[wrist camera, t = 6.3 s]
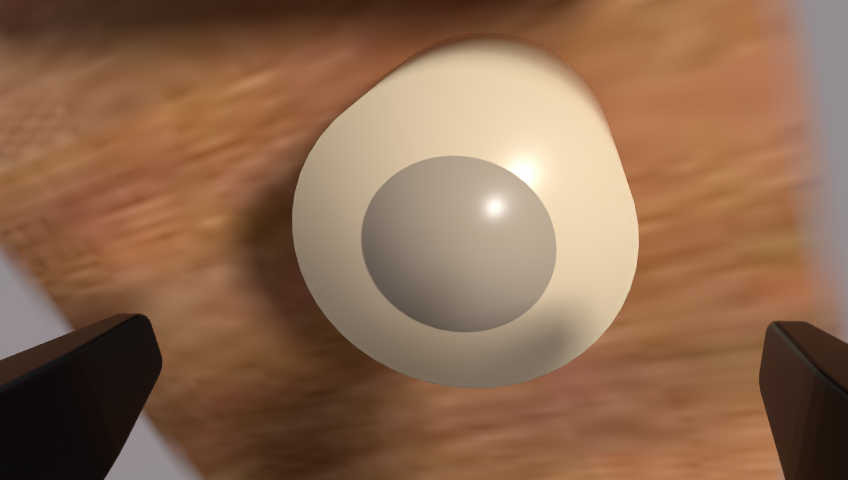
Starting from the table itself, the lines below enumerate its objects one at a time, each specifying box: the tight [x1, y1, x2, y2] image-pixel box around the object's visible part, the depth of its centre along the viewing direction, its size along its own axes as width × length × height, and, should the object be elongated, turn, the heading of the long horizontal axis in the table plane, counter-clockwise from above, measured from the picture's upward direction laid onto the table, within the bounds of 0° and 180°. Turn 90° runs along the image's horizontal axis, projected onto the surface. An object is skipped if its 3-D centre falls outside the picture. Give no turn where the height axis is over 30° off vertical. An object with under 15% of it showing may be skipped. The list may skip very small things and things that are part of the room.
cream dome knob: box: [292, 33, 639, 388], centre depth 14 cm, size 6×6×5 cm
